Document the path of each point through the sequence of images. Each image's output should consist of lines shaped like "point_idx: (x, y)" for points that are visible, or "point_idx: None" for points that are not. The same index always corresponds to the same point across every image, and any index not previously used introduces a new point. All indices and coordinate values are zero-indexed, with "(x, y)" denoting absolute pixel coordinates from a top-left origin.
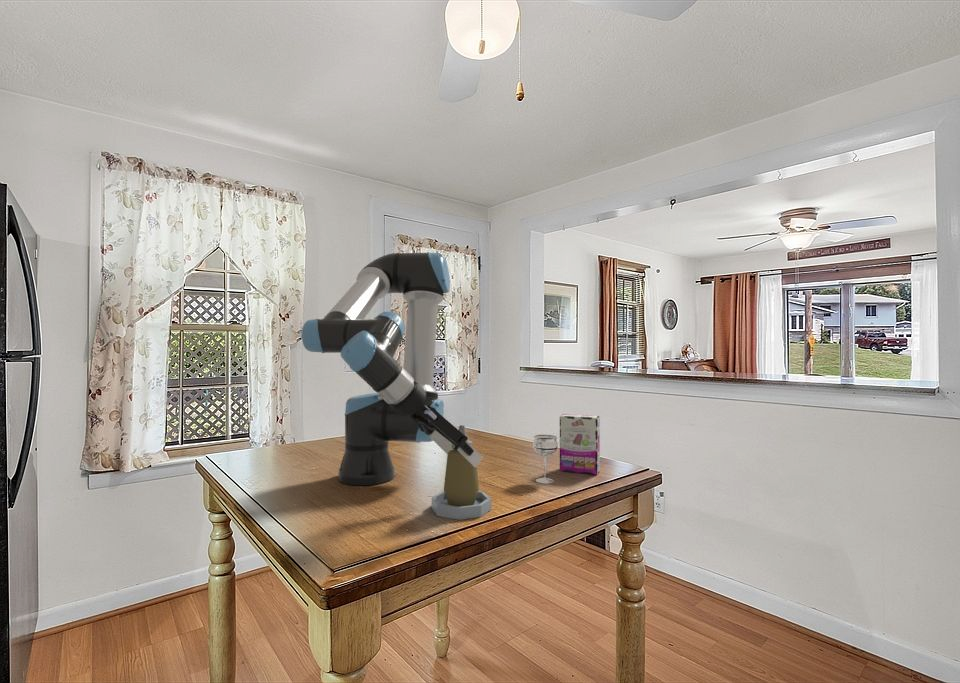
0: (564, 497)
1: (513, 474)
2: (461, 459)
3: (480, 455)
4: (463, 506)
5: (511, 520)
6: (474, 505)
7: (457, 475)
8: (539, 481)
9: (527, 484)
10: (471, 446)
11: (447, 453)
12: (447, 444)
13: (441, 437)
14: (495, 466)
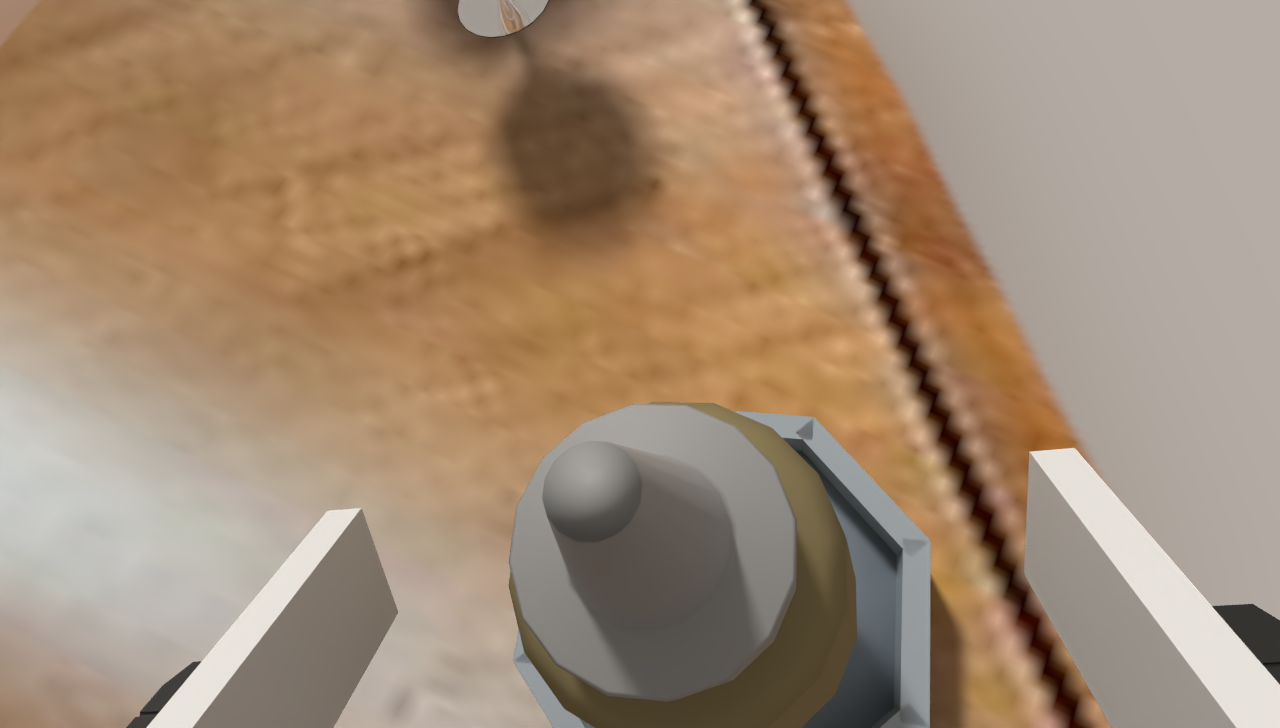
0: (782, 16)
1: (328, 93)
2: (836, 642)
3: (1099, 481)
4: (907, 673)
5: (1034, 405)
6: (912, 586)
7: (827, 690)
8: (508, 26)
9: (510, 93)
10: (1209, 613)
11: (395, 616)
12: (339, 610)
13: (265, 707)
14: (157, 123)
